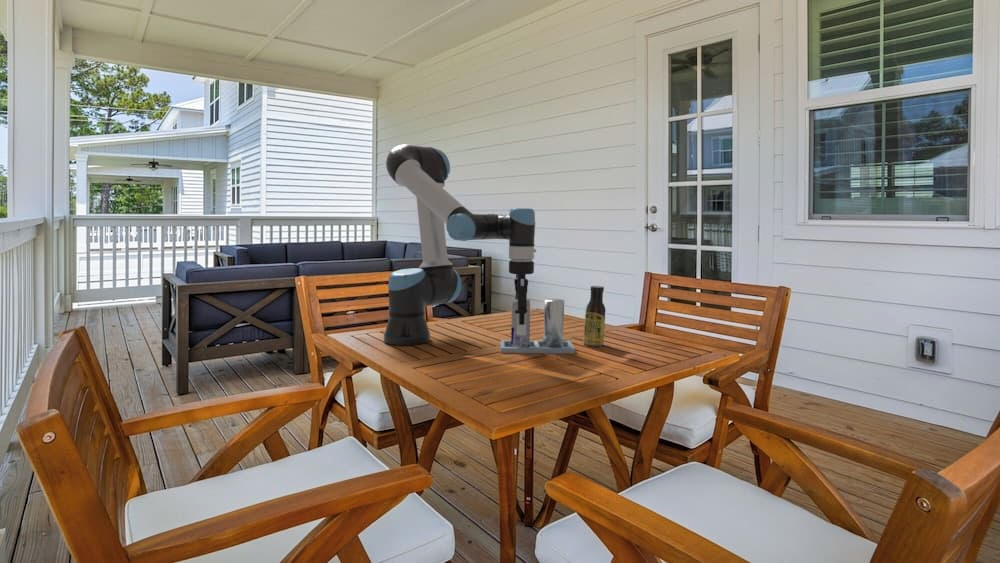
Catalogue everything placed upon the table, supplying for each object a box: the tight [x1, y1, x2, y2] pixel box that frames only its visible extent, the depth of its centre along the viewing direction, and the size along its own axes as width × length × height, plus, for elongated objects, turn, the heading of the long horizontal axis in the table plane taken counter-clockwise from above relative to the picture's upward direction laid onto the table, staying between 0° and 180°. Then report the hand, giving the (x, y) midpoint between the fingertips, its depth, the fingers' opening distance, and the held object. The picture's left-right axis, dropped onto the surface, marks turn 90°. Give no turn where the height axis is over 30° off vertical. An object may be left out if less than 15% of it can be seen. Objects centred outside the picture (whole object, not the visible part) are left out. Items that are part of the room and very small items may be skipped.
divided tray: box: [499, 339, 576, 354], centre depth 166 cm, size 22×10×3 cm, turn 91°
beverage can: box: [510, 298, 531, 347], centre depth 165 cm, size 6×6×15 cm
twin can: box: [542, 298, 565, 348], centre depth 165 cm, size 6×6×15 cm
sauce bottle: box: [583, 285, 606, 348], centre depth 171 cm, size 6×6×20 cm
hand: (520, 330), depth 165 cm, fingers open, 13 cm apart
